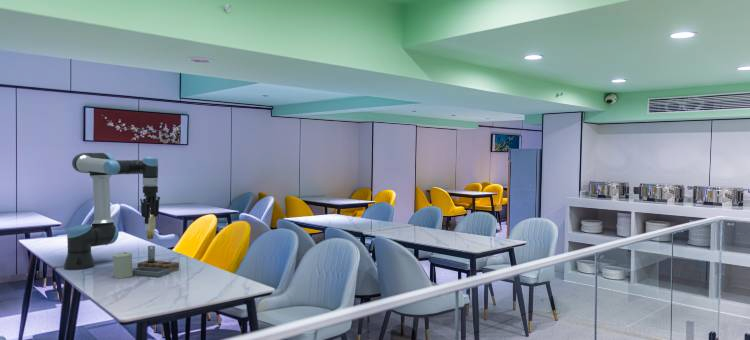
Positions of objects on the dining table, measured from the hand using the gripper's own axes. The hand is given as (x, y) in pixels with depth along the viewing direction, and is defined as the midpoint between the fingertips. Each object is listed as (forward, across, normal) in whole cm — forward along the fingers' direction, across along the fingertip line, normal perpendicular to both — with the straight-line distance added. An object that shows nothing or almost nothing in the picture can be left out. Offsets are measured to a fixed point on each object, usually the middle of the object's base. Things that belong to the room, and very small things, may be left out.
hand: (150, 229), depth 283 cm
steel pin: (+24, +10, +6) cm, 27 cm away
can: (+24, -8, +10) cm, 28 cm away
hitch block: (+24, +10, +2) cm, 26 cm away
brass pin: (+5, 0, 0) cm, 5 cm away
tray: (+24, 0, 0) cm, 24 cm away
